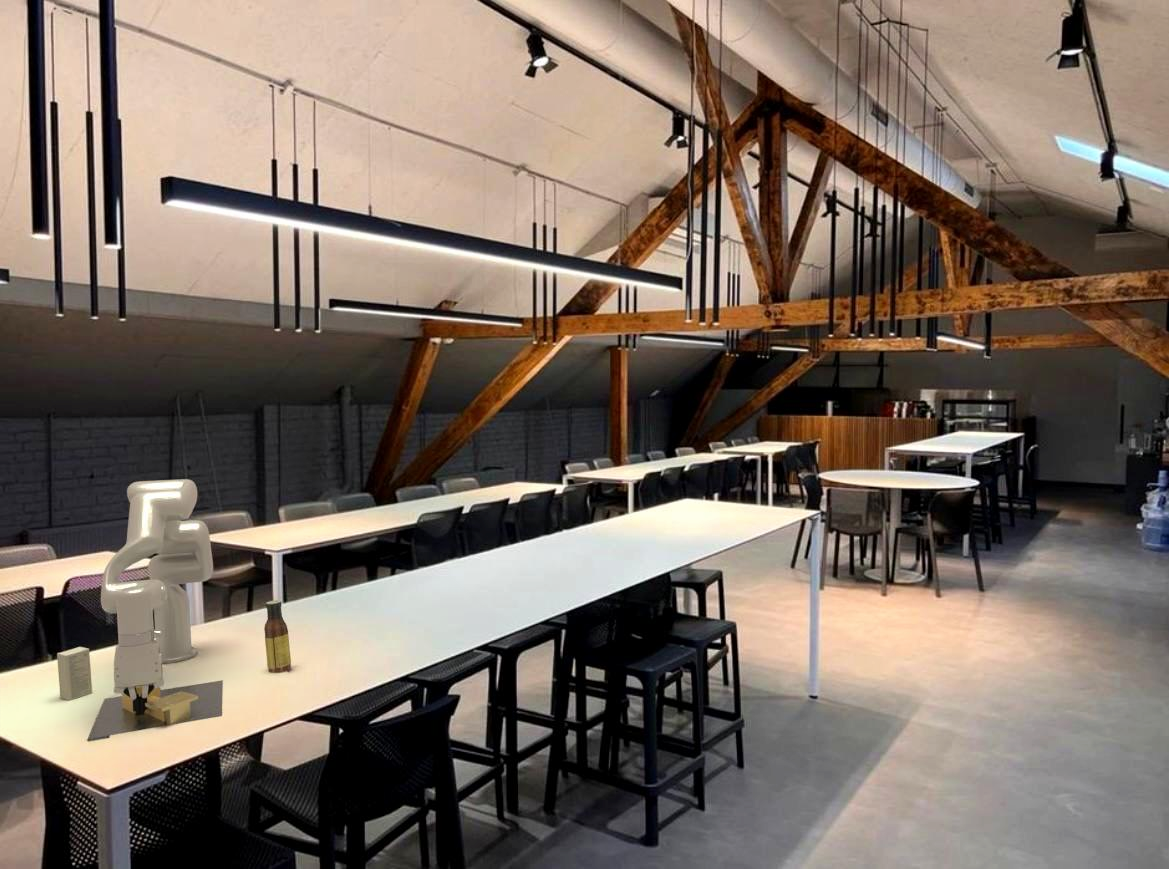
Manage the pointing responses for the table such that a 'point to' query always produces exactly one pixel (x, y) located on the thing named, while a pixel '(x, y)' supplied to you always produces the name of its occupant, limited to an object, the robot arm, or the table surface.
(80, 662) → the skincare box
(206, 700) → the pintle board
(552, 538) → the table surface
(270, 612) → the sauce bottle
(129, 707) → the link
